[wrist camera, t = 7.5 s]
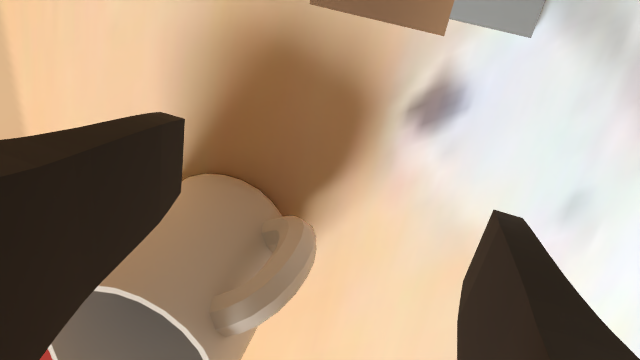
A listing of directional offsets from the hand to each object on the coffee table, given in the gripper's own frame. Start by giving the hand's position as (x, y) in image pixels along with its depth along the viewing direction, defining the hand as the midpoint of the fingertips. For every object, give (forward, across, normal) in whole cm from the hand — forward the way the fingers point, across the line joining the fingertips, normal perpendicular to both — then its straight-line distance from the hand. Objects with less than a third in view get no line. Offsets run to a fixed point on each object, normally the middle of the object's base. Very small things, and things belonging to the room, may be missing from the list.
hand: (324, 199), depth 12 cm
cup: (+11, +5, +10) cm, 15 cm away
